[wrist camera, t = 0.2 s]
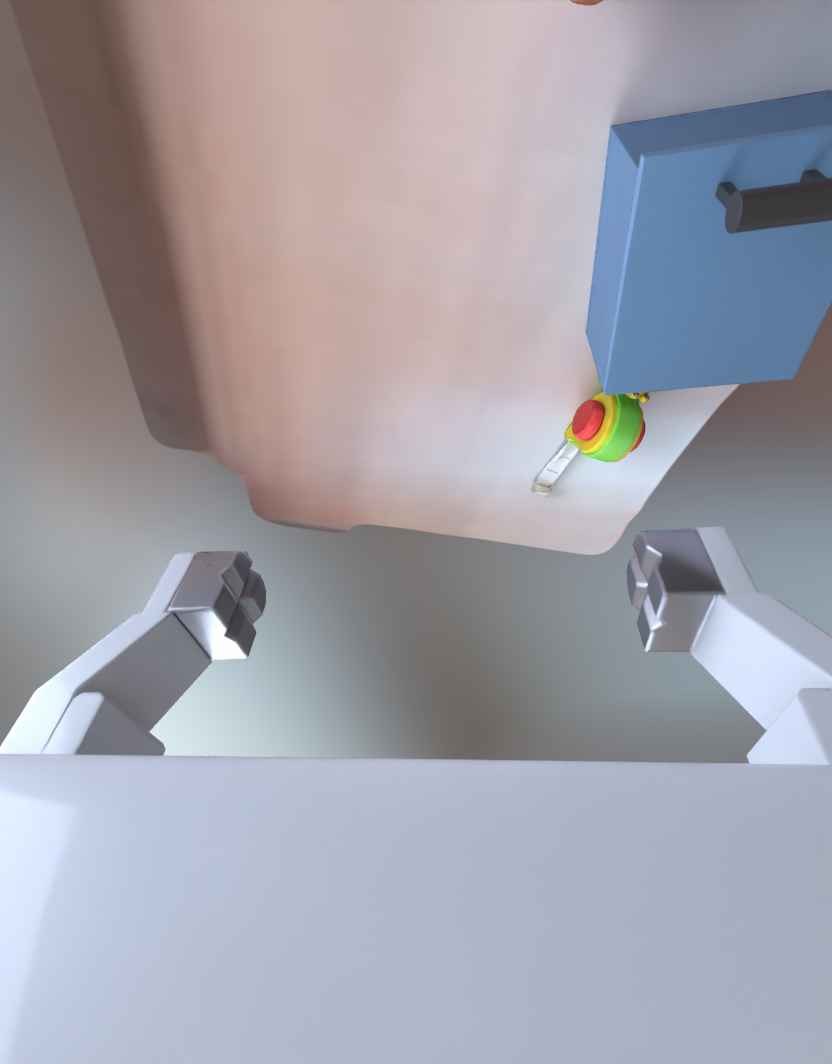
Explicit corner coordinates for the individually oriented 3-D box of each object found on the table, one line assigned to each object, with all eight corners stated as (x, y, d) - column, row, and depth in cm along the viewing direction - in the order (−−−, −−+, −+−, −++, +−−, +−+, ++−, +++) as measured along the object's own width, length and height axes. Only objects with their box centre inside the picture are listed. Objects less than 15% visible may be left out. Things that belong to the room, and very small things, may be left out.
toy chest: (610, 125, 35) (637, 168, 30) (834, 89, 33) (908, 128, 28) (585, 332, 47) (602, 389, 42) (749, 314, 45) (789, 373, 40)
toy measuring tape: (667, 371, 50) (686, 414, 46) (559, 494, 65) (566, 535, 61) (612, 350, 49) (626, 392, 45) (514, 481, 63) (518, 521, 59)
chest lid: (640, 152, 29) (662, 185, 26) (917, 110, 27) (979, 139, 24) (602, 390, 42) (614, 431, 39) (789, 373, 40) (818, 415, 37)
